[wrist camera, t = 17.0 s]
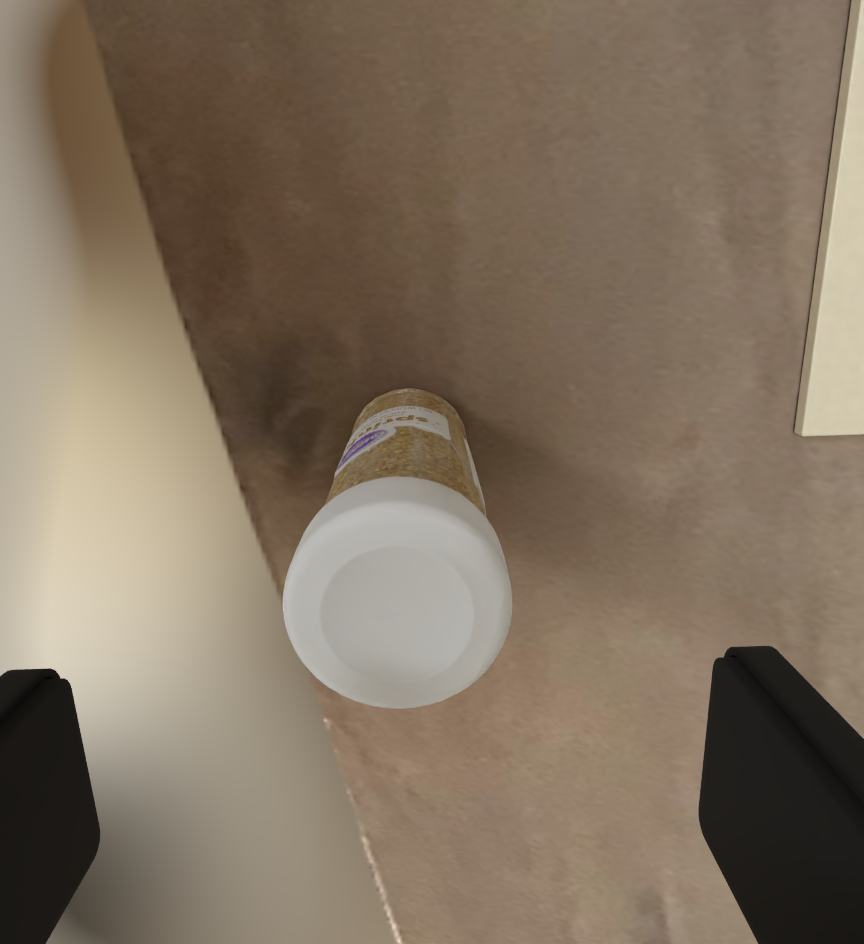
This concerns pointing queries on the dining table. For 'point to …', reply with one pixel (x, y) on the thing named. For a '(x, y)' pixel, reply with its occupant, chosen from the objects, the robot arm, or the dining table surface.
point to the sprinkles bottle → (400, 563)
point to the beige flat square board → (839, 268)
